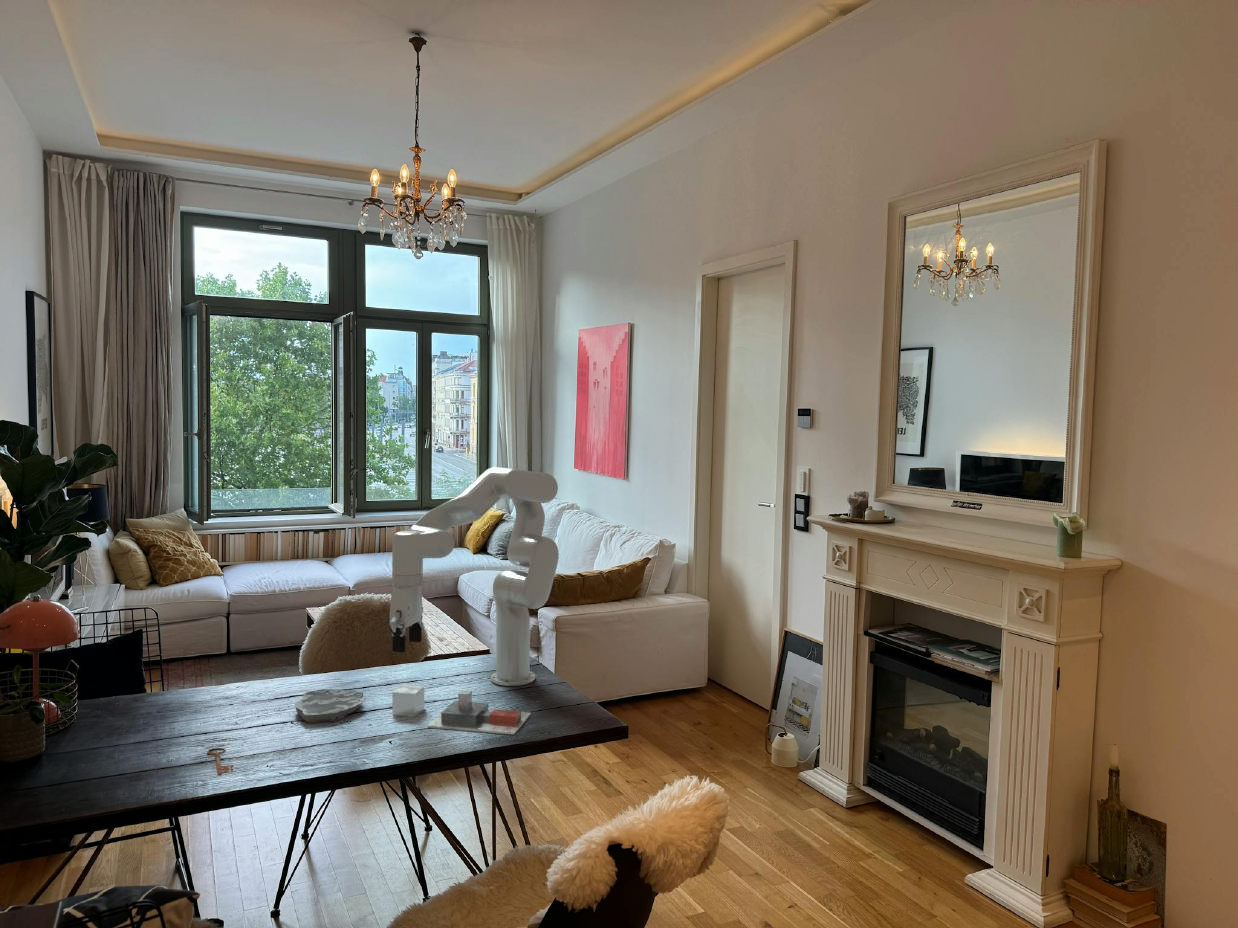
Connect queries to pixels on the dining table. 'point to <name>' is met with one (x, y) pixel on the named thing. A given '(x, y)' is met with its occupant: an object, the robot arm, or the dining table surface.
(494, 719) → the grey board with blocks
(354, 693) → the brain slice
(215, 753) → the key
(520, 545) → the robot arm
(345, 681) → the dining table surface
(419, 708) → the light grey cube
